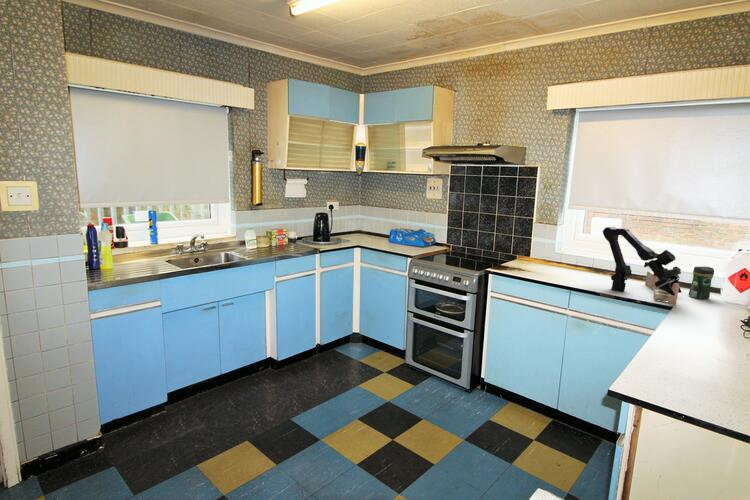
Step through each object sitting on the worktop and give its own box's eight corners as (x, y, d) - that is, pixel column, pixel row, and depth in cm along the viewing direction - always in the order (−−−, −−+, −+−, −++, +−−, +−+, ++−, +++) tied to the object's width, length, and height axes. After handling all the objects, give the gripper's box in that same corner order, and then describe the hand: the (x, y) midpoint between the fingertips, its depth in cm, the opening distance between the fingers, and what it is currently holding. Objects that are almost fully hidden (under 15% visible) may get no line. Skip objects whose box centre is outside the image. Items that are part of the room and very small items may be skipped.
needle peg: (669, 305, 234) (673, 283, 231) (668, 303, 236) (673, 281, 233) (675, 306, 232) (680, 284, 229) (675, 304, 235) (679, 282, 232)
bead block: (653, 300, 241) (655, 293, 240) (653, 296, 249) (654, 289, 248) (673, 303, 237) (674, 296, 236) (672, 299, 244) (673, 292, 243)
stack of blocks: (644, 284, 273) (647, 266, 270) (655, 285, 271) (658, 267, 269) (659, 295, 252) (663, 275, 249) (671, 296, 251) (675, 275, 248)
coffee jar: (700, 295, 254) (706, 265, 250) (711, 299, 246) (718, 268, 242) (685, 295, 253) (691, 264, 249) (695, 299, 245) (702, 268, 241)
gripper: (664, 264, 227) (685, 289, 220) (678, 260, 238) (698, 284, 231) (646, 274, 235) (665, 299, 228) (660, 270, 246) (678, 294, 239)
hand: (677, 294), depth 232 cm, fingers open, 9 cm apart
